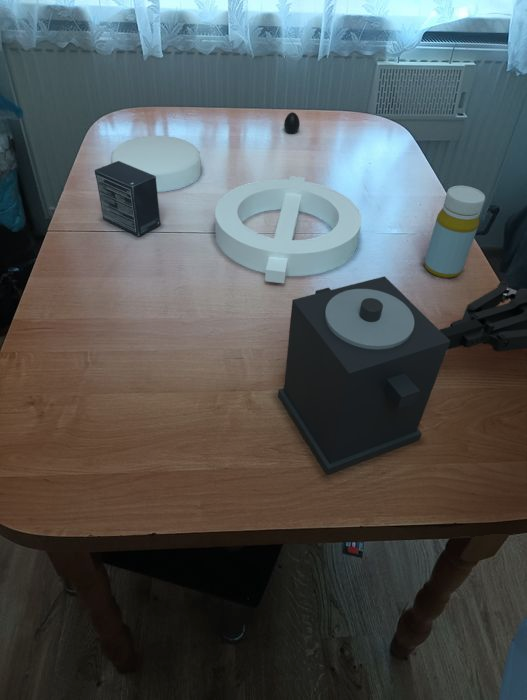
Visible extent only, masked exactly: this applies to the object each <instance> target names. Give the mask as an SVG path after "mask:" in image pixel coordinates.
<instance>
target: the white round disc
mask: <svg viewBox="0 0 527 700" xmlns="http://www.w3.org/2000/svg"><path fill="white" fill-rule="evenodd" d="M117 161H120V162H123V163H125V164H127V165H130V166H132V167H135V168H137V169H140V170H142V171H144V172H147V173H149V174H152V175H154V176H156V185H157V193H164V192H172V191H176V190H177V191H178V190H179V189H183V188H185V187H188V186H190V185H192V184H193V183H195V182H196V181H198V179H199V178H200V176H201V174H202V169H201V167H202V166H201V152H200V150H199V149H198V148H197V146H195V144H193V143H191V142H189V141H188V140H186V139H183V138H179V137H176V136H168V135H146V136H145V135H144V136H139V137H135V138H131V139H128V140H125V141H124V142H122V143H120V144H118V145H117V146H116V147H115V148H114V150H112V151H111V155H110V164H112V163H114V162H117Z"/></svg>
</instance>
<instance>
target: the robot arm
mask: <svg viewBox="0 0 527 700" xmlns="http://www.w3.org/2000/svg"><path fill="white" fill-rule="evenodd" d="M508 286H509V282H508V281H505V280H501V281H500V282H499V283H498V285H497V287H496V288H494V289H492V290H490V291H489V292H487V293H485V294H484V295H482V296H480V297H478V298H477V299H474V300H473V301H472V302H470V303H468V304H467V305H466V306H465V307H466V308H465V310H464V313H463V316H462V318H460V319H457V320H455V321H452V322H451V323H450V326H447V327H444V328H440V329H439V330H440V331H441V332H442V333H443V334H444V335H445V336H446V337H447V338H448V339H449V340H450V344H449V346H448V349H447V351H449V350H452V349H456V348H458V347H463V348H472V347H475V346H478V345H481V344H483V345H490V346H491V348H492V350H493V351H494V352H498V353H499V352H507V351H517V350H527V288H519V289H517V290H516V289H513V288H511V287H508ZM508 300H509V301H508ZM506 301H508V302H507V303H505V302H506ZM501 303H502V304H501ZM498 696H499V697H498V700H527V615H526V616H524V618H522V620H521V621H520V623H519V625H518V626H517V631H516V635H515V636H513V638H512V640H511V643H510V645H509V649H508V652H507V656H506V659H505V664H504V669H503V673H502V678H501V683H500V690H499V695H498Z"/></svg>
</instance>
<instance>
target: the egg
mask: <svg viewBox="0 0 527 700" xmlns="http://www.w3.org/2000/svg"><path fill="white" fill-rule="evenodd" d="M300 125H301V124H300V118H299V116H298V114H297V113H296V112H293V111H292V112H290V113H288V114H287V116H286V117H285V119H284V124H283V128H284V131H285V132H286V133H287V134H290V135H292V134H293V135H294V134H297V133H298V131H299V129H300Z"/></svg>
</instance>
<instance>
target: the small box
mask: <svg viewBox="0 0 527 700" xmlns="http://www.w3.org/2000/svg"><path fill="white" fill-rule="evenodd" d="M94 175H95V179H96V184H97V185H96V186H97V190H98V195H99V201H100V206H101V207H100V208H101V215H102V220H103V221H106V222H107V223H109V224H111V225H114V226H115V227H118V228H119V229H122V230H123V231H126V232H128V233H130V234H132V235H134V236H135V237H141V236H143V235H145V234H147V233H149V232H150V231H152V230H154V229H156V228H158V227H160V226H161V225H162V224H161V217H160V206H159V196H158V192H157V185H156V176H154V175H152V174H149V173H147V172H144V171H142V170H140V169H137V168H135V167H132V166H130V165H127V164H125V163H123V162H120V161H117V162H114V163H112V164H111V163H109V164H107V165H104V166H101V167H99V168H98V167H97V168H96V169H94Z"/></svg>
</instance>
